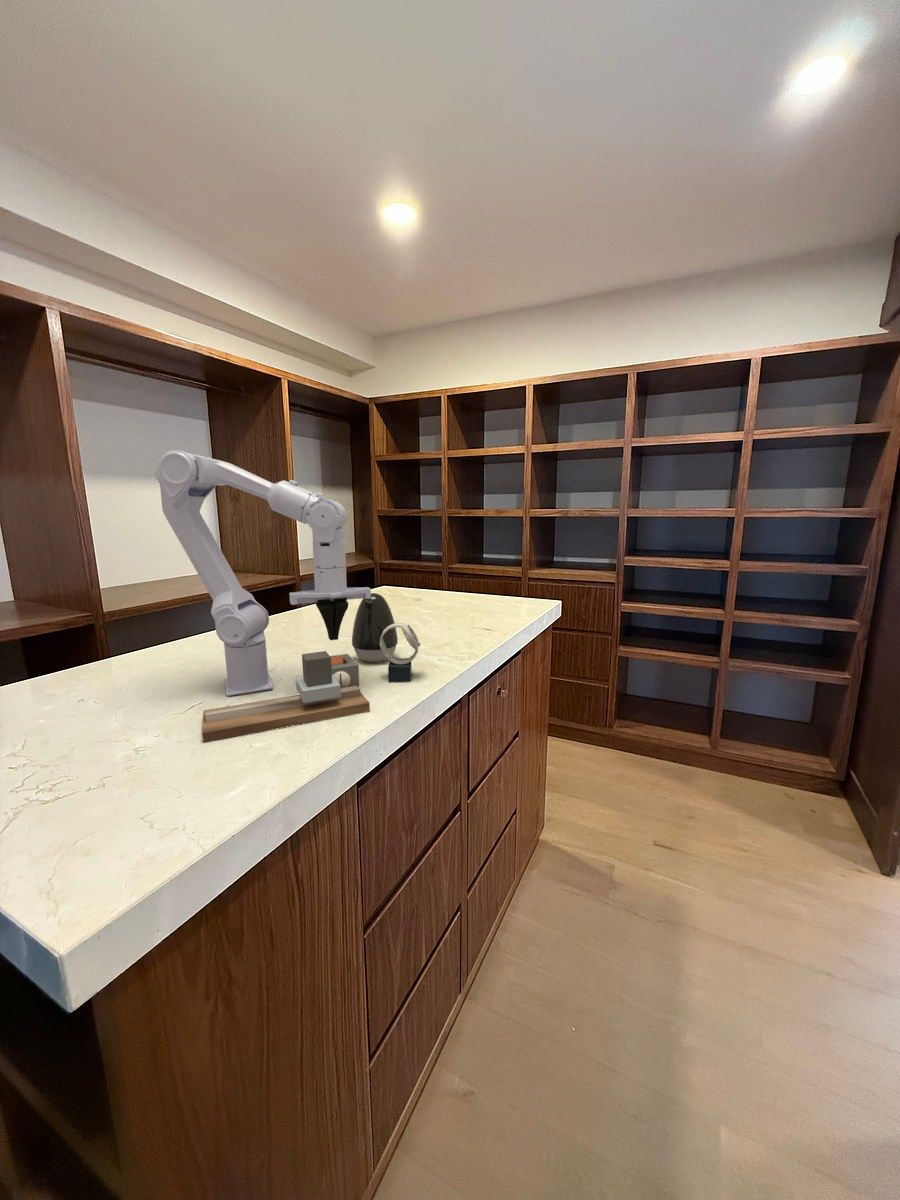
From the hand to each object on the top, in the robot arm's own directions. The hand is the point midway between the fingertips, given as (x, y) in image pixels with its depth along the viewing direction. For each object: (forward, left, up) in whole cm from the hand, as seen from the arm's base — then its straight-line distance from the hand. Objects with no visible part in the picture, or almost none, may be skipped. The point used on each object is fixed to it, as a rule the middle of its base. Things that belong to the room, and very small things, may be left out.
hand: (333, 638), depth 90 cm
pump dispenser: (-13, +12, -10) cm, 21 cm away
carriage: (+9, -5, -6) cm, 13 cm away
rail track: (+10, -10, -10) cm, 17 cm away
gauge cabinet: (0, 0, -10) cm, 10 cm away
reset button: (0, 0, -6) cm, 6 cm away
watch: (+1, +13, -10) cm, 16 cm away
